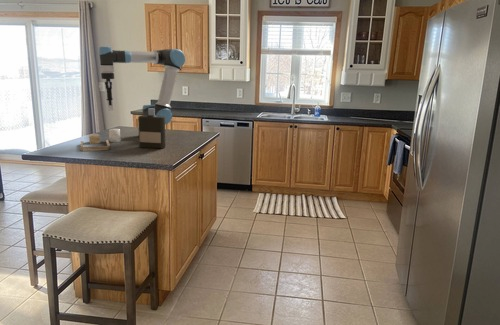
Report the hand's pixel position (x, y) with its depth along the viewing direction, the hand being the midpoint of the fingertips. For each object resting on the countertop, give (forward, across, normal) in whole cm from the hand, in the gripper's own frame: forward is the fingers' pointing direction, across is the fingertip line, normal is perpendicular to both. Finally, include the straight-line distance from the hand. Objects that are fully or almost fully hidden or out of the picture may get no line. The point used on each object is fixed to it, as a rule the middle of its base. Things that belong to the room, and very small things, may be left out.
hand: (110, 110), depth 231 cm
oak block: (+22, -7, -11) cm, 26 cm away
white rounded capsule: (+22, -9, +2) cm, 24 cm away
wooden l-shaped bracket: (+22, +7, -11) cm, 26 cm away
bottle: (+23, +16, +23) cm, 36 cm away
